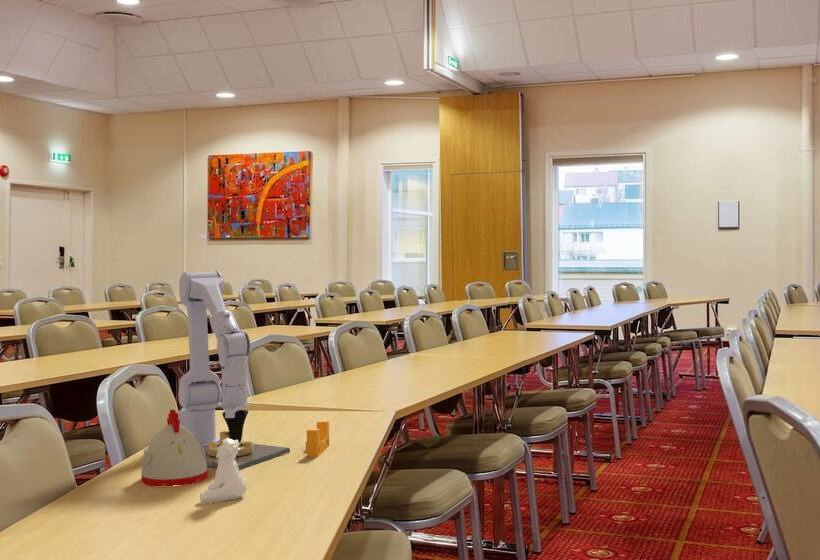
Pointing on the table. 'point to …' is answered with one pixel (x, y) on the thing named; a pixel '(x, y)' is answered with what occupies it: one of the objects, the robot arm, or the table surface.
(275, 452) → the housing
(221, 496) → the seated beast figurine
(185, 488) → the table surface
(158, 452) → the kitchen timer
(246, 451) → the ring nut
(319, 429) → the pipe clamp
